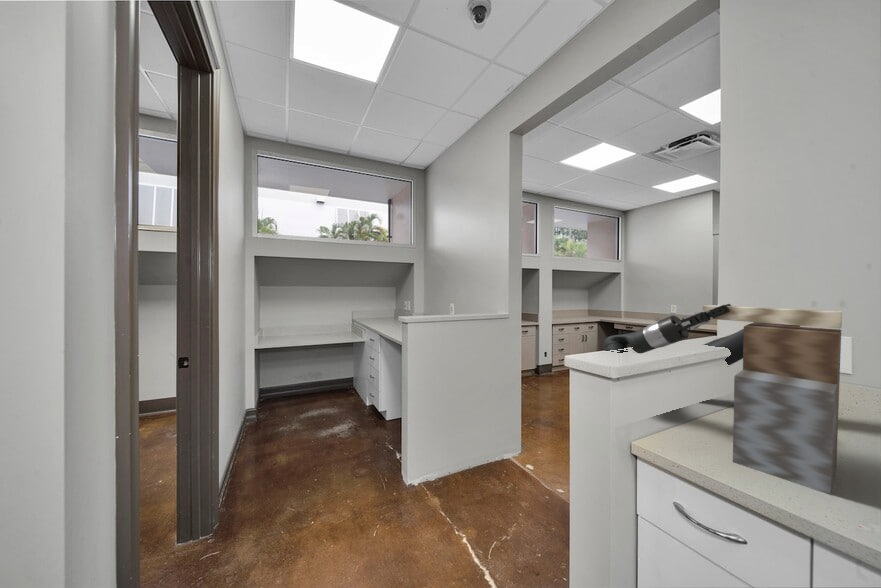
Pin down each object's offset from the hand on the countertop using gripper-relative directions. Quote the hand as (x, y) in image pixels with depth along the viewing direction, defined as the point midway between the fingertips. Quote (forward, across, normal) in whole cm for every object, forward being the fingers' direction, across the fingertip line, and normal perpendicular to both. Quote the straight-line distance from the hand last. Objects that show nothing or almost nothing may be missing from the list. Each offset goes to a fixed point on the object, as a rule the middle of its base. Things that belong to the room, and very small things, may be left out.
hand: (729, 307), depth 86 cm
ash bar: (+4, 0, -6) cm, 8 cm away
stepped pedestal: (-8, +4, -37) cm, 38 cm away
